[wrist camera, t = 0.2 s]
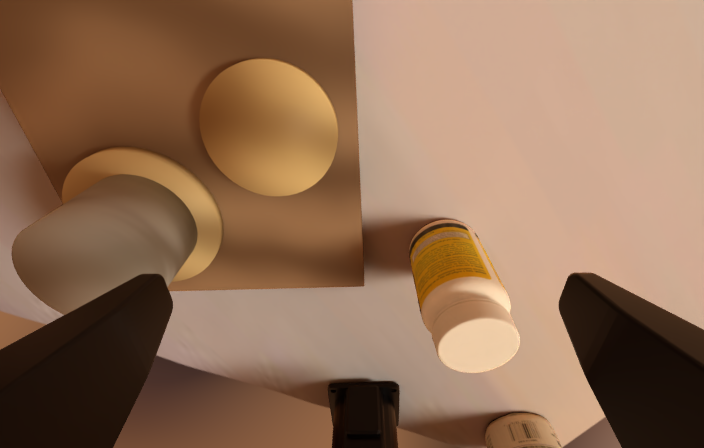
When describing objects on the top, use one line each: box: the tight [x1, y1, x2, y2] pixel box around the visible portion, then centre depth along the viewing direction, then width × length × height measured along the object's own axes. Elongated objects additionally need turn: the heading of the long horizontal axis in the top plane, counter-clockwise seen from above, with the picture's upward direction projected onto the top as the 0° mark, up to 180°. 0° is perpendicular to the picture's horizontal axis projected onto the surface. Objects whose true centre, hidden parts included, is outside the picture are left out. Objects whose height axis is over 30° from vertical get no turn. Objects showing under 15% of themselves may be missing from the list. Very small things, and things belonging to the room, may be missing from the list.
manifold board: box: [0, 0, 364, 315], centre depth 18 cm, size 18×18×7 cm
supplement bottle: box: [409, 220, 520, 373], centre depth 20 cm, size 5×5×8 cm
